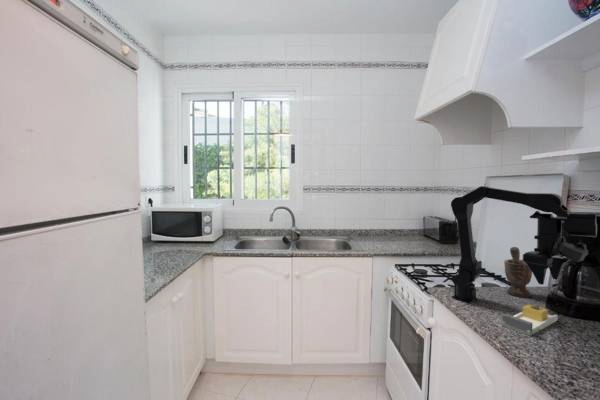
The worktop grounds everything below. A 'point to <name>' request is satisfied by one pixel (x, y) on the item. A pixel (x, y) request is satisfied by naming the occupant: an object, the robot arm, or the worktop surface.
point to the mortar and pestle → (517, 274)
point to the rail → (526, 323)
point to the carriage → (535, 312)
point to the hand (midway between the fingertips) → (548, 281)
